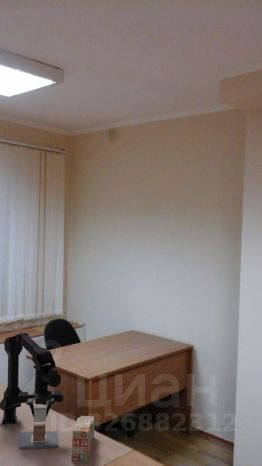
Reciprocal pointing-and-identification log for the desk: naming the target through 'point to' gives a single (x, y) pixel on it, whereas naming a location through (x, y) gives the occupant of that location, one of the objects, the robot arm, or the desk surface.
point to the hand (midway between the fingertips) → (40, 416)
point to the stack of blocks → (82, 438)
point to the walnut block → (39, 432)
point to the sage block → (40, 413)
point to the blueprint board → (28, 442)
